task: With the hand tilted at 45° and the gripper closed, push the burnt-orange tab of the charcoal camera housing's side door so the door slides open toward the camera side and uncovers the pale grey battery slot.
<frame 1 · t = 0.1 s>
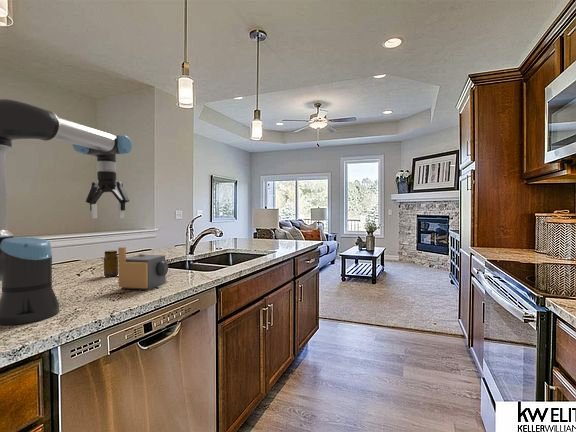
hand: (107, 218, 145), 28 cm above the table, tool pointing down, fingers open, 13 cm apart
door: (133, 267, 126), point 9 cm above the table, slide at 0.0 cm
condiment: (113, 276, 152), on the table
housing: (144, 285, 133), on the table
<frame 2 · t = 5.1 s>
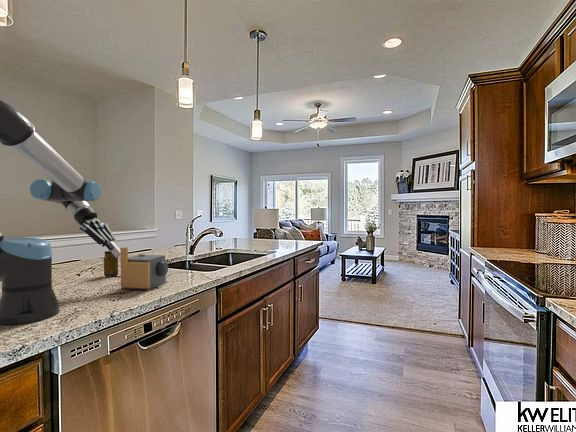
hand: (119, 255, 127), 14 cm above the table, tool tilted 45°, fingers closed
door: (135, 267, 125), point 9 cm above the table, slide at 0.9 cm, touching gripper
everything else where it was.
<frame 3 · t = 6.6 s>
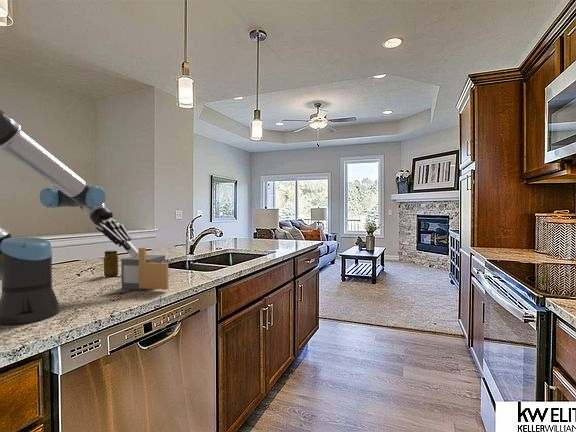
hand: (136, 255, 125), 14 cm above the table, tool tilted 45°, fingers closed
door: (153, 268, 124), point 9 cm above the table, slide at 8.9 cm
everything else where it was.
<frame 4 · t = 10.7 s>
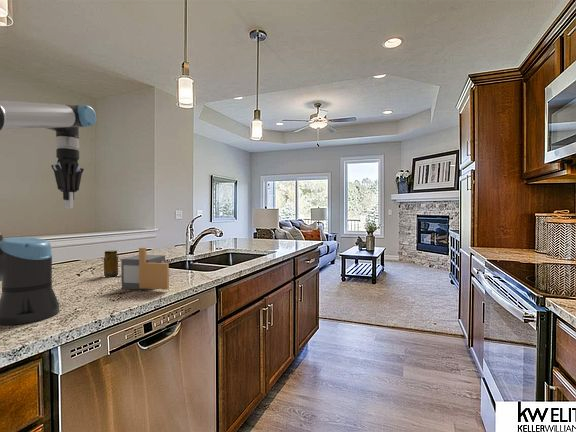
hand: (69, 208, 127), 32 cm above the table, tool pointing down, fingers closed
nothing on the table moved.
at the end: door slide at 9.0 cm; condiment moved 0.3 cm from its start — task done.
